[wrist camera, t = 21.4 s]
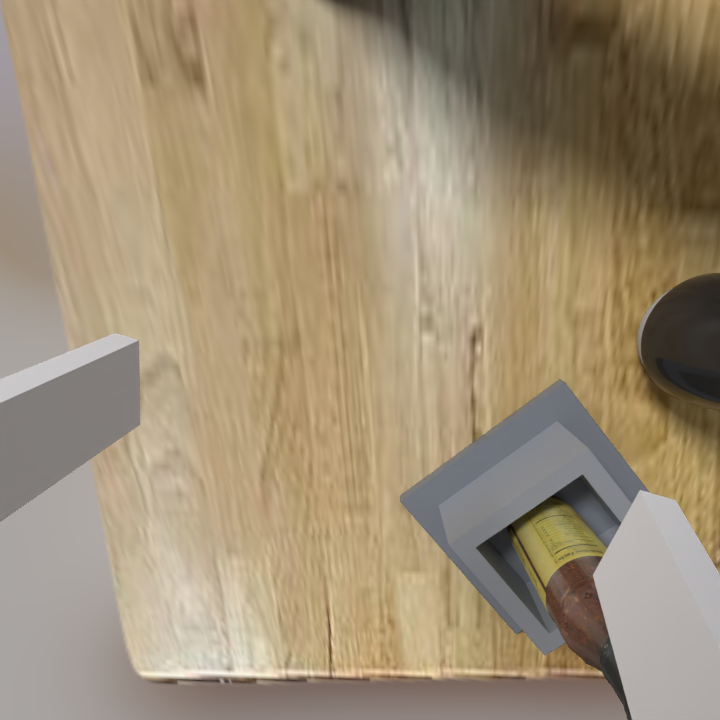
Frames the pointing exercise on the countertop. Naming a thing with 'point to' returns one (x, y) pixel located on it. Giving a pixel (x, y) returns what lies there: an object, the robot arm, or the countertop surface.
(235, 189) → the countertop surface
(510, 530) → the sauce bottle
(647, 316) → the pump dispenser
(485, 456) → the bottle holder
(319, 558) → the countertop surface
